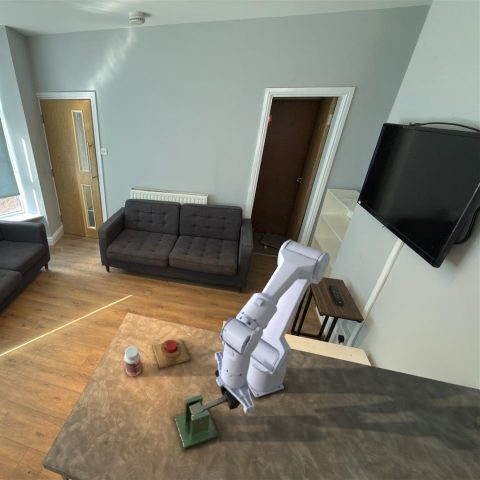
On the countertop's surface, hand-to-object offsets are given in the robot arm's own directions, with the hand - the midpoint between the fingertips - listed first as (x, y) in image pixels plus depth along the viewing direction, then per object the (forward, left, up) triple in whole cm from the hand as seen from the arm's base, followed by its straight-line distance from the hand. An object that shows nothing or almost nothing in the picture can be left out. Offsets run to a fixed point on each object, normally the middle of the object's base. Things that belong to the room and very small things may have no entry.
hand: (229, 400), depth 65 cm
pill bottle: (+21, -21, -8) cm, 31 cm away
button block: (+8, -23, -8) cm, 25 cm away
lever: (+4, 0, -1) cm, 4 cm away
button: (+8, -23, -5) cm, 25 cm away
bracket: (+9, 0, -8) cm, 12 cm away
